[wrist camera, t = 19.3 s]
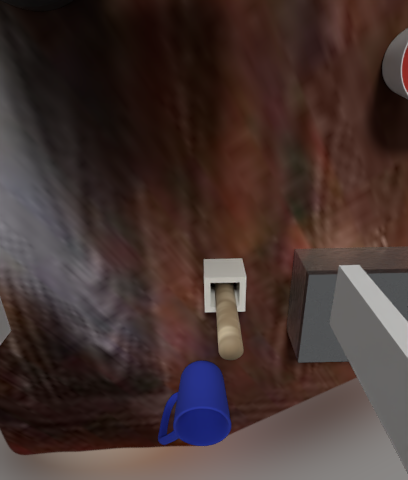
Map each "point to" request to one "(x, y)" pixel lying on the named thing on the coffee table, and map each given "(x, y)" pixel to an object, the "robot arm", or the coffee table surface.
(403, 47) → the candle
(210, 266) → the hollow square box
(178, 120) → the coffee table surface
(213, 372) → the mug
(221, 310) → the peg
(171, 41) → the coffee table surface
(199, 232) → the coffee table surface
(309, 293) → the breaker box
